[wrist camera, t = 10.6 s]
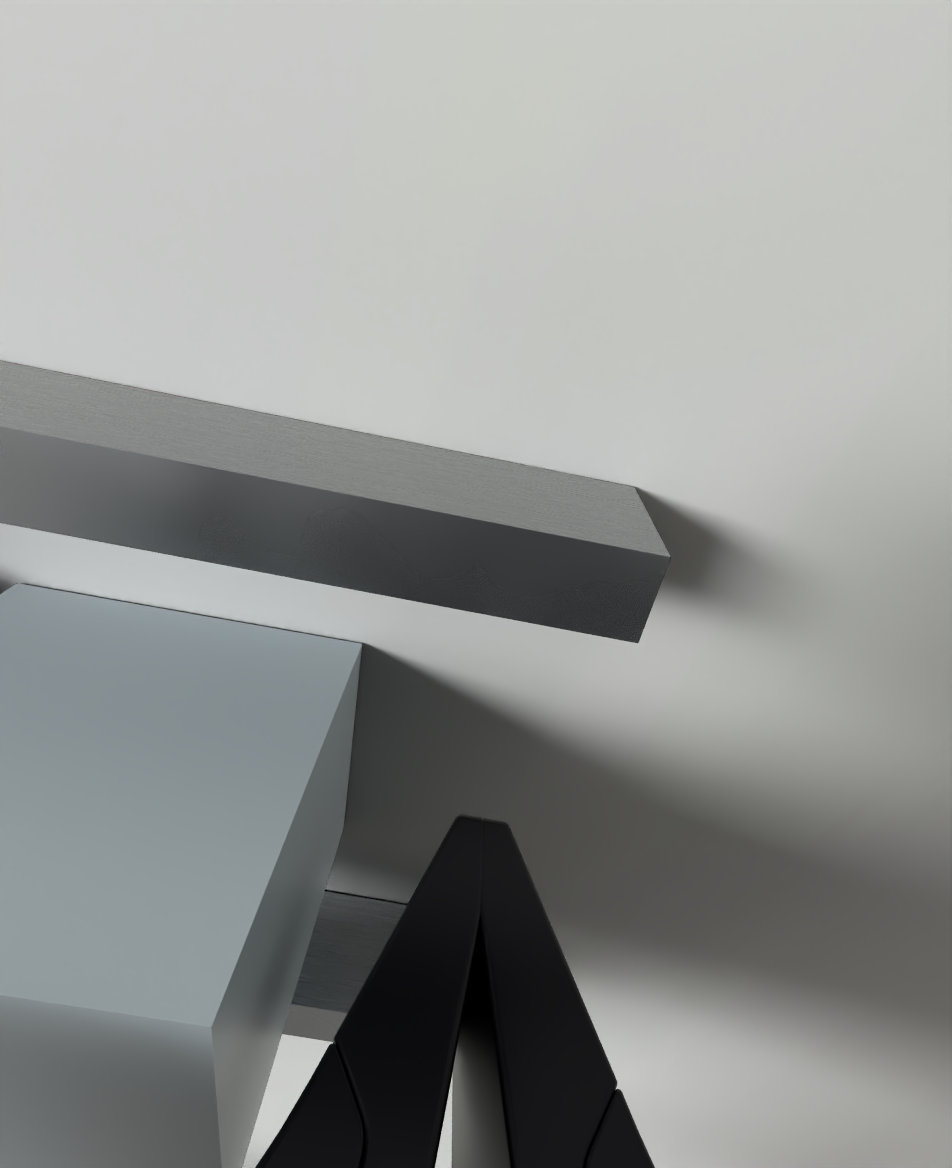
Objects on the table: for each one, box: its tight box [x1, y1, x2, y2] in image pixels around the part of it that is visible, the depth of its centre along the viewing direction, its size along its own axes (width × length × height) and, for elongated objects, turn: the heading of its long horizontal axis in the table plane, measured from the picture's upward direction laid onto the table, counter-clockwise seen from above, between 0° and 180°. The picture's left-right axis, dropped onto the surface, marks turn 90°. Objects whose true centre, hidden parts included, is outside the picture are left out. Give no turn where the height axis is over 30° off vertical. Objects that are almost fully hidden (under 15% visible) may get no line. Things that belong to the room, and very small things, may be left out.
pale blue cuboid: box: [0, 583, 362, 1168], centre depth 7 cm, size 5×4×5 cm
